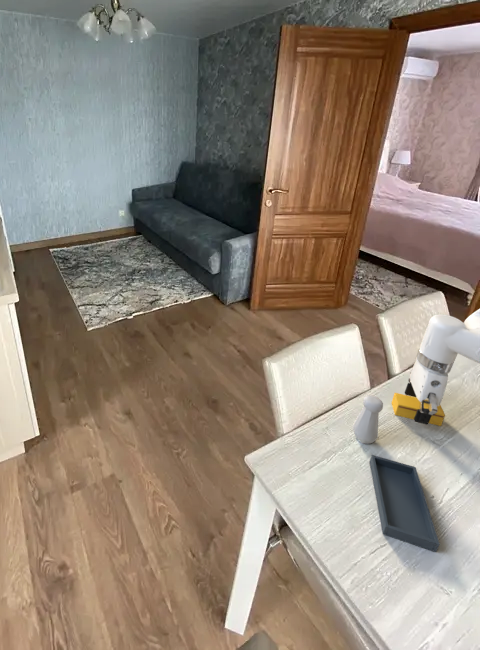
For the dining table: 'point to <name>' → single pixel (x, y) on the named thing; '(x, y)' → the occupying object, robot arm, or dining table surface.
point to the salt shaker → (368, 420)
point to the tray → (402, 503)
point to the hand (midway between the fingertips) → (415, 408)
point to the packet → (414, 408)
